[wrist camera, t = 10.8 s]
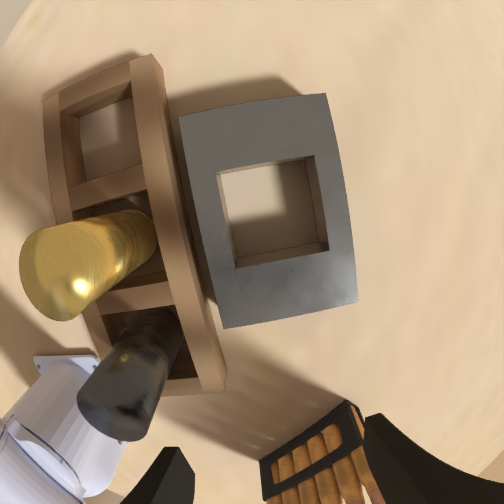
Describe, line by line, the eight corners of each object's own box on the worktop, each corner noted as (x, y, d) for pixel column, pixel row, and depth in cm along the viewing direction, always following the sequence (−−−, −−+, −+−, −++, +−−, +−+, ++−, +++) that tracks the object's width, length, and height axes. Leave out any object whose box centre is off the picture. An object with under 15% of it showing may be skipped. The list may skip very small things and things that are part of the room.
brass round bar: (163, 258, 18) (99, 316, 9) (115, 268, 18) (36, 324, 9) (150, 203, 17) (71, 218, 8) (102, 216, 17) (10, 240, 9)
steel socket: (345, 288, 19) (358, 301, 16) (226, 311, 19) (223, 329, 16) (315, 104, 16) (325, 93, 14) (187, 126, 16) (178, 117, 14)
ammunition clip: (346, 398, 21) (396, 514, 9) (358, 407, 21) (408, 515, 9) (258, 460, 22) (263, 565, 11) (272, 466, 23) (281, 567, 11)
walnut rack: (227, 370, 20) (225, 391, 17) (129, 378, 20) (119, 397, 18) (162, 68, 15) (151, 53, 13) (62, 108, 16) (42, 100, 13)
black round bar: (189, 349, 19) (159, 443, 11) (144, 353, 19) (97, 438, 11) (175, 302, 19) (128, 385, 10) (128, 309, 19) (64, 384, 10)
